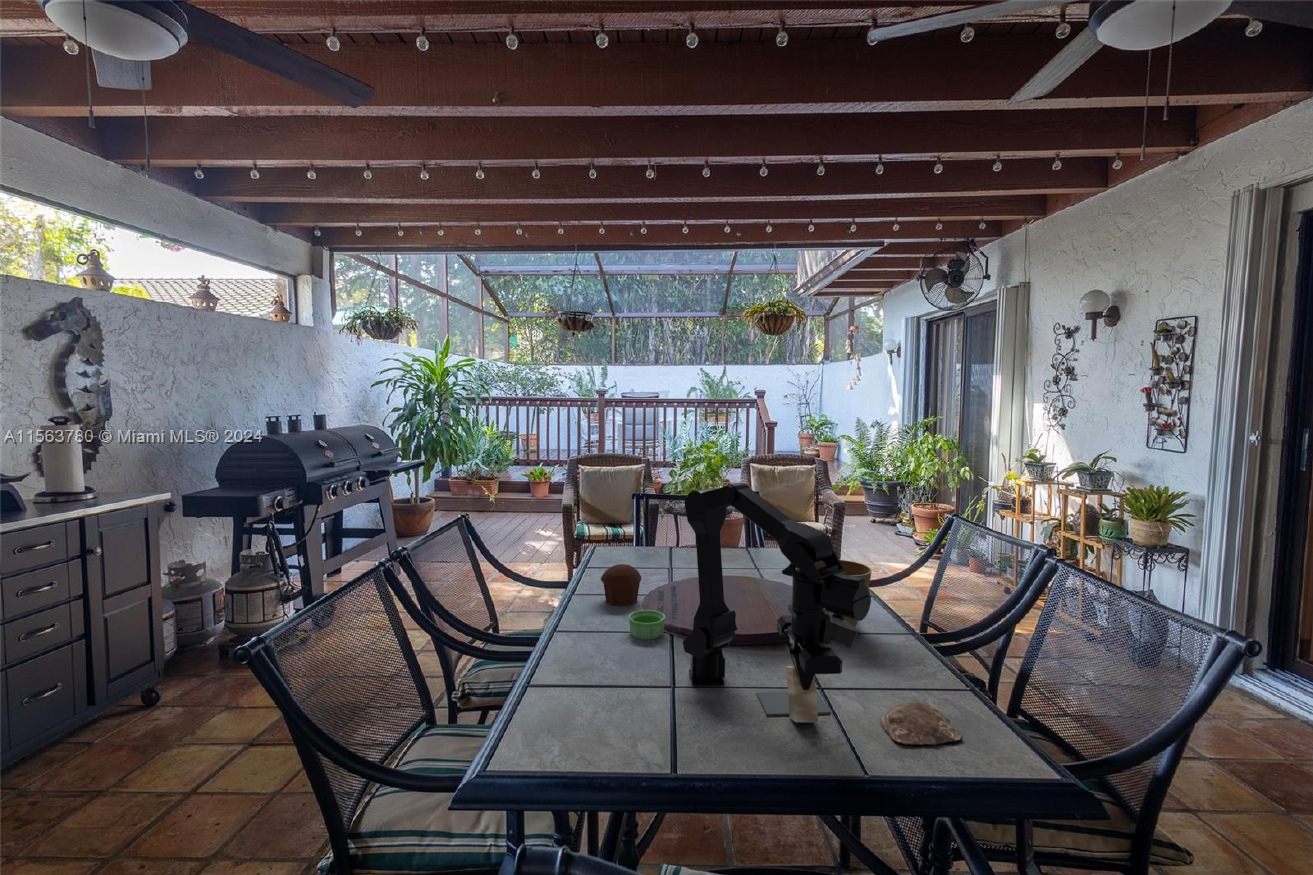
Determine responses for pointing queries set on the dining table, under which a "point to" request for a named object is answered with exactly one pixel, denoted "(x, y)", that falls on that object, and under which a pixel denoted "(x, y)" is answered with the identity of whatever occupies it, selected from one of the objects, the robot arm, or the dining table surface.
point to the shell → (919, 726)
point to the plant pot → (854, 571)
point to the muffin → (621, 585)
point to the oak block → (801, 699)
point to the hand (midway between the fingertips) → (805, 689)
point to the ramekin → (646, 624)
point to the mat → (784, 703)
